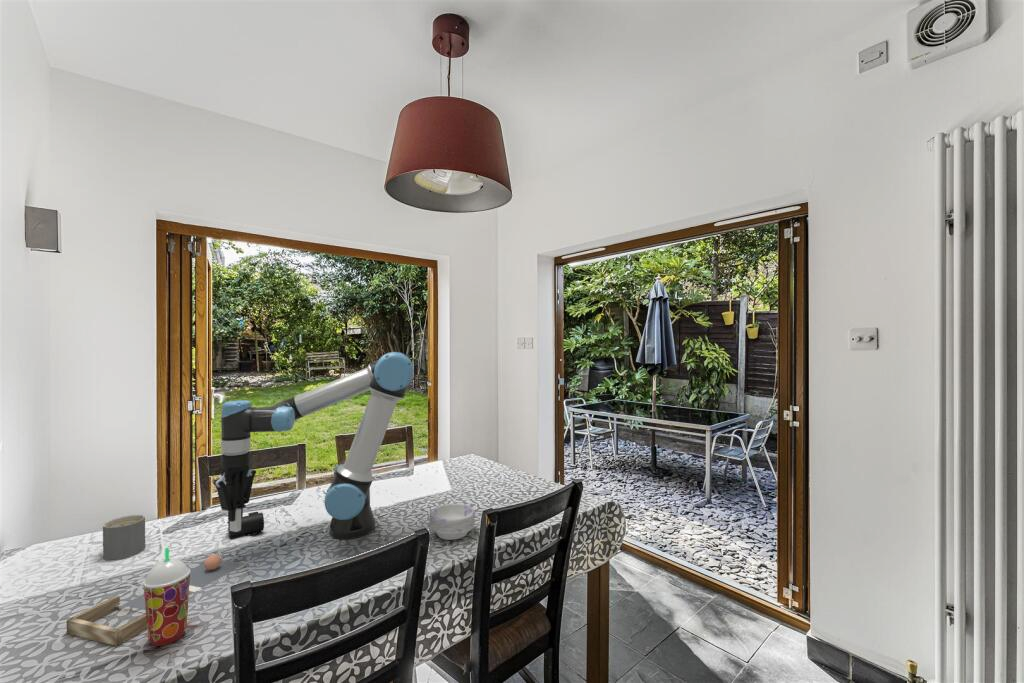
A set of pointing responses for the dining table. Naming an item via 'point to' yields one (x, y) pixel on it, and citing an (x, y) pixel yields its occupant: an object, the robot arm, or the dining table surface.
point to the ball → (212, 562)
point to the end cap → (248, 525)
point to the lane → (195, 580)
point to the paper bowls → (452, 520)
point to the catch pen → (101, 633)
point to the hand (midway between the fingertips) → (235, 530)
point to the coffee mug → (123, 537)
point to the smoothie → (166, 600)
